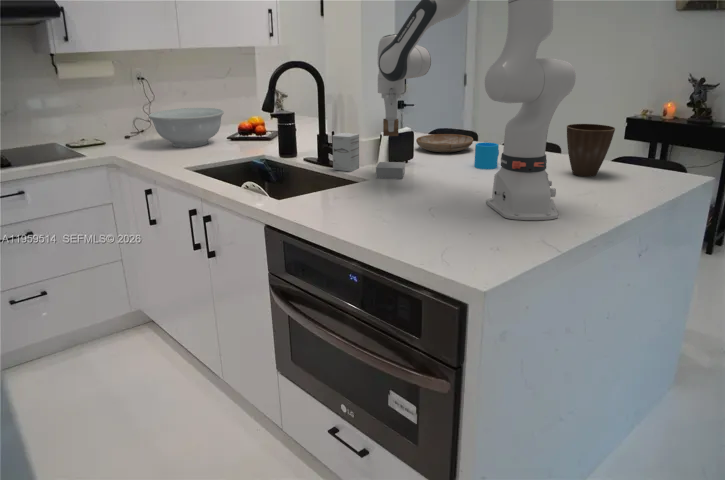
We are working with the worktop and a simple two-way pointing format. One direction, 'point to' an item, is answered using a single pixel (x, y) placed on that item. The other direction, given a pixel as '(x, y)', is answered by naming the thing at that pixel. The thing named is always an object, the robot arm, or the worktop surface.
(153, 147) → the worktop surface
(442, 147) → the shallow wooden dish
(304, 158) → the worktop surface
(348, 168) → the supplement box
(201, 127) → the bowl
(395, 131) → the walnut cube
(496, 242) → the worktop surface
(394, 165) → the grey base
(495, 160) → the mug
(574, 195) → the worktop surface
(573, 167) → the plant pot
